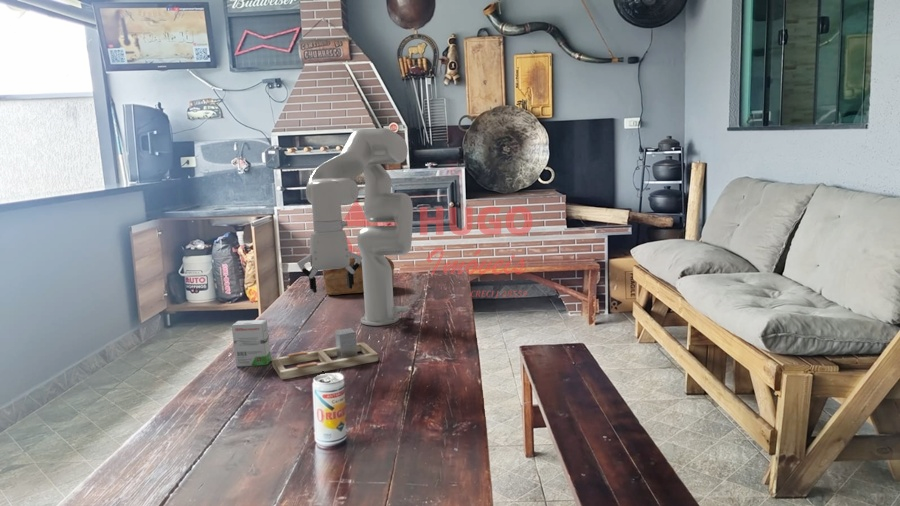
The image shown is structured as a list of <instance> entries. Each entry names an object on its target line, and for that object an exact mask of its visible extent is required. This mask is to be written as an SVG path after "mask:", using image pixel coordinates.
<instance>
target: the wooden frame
mask: <svg viewBox="0 0 900 506" xmlns="http://www.w3.org/2000/svg"><path fill="white" fill-rule="evenodd" d="M356 344H357V353H358V352H361V353H362V354H360V355H359V354H358V355H357V356H354V357H348V358H343V359H334V360H332V359H331V357H337V353H336V346H334V347H329V348H324V349H318V350H312V351H307V350H303V351H299V352H298V351H297V352H292V353H288V354H287V355H285V356H279V357H275V358H271V364H272V365H271V366H272V367H273V369H274V370H275V372H276V373H277V375H278V377H279V378H280V380H286V379H287V380H288V379H292V378H293V379H294V378H298V377H302V376H303V377H304V376H308V375H312V374H313V375H314V374H318V373H323V372H322V371H324V372H329V371H334V370H339V369H344V368H349V367H354V366H359V365H363V364H368V363H375V362H378V361H379V354H378V353H377V351H375V350H374V349H373V348H371V347H370V346H369V345H368V344H366V343H365V342H364V341H362V342H356ZM315 360H318V361H320V362H316V361H315ZM309 361H313V362H309ZM305 362H308V363H305ZM300 363H302V364H300ZM293 364H297V365H296V367H291V368H285V366H289V365H293Z"/></svg>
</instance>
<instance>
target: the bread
mask: <svg viewBox="0 0 900 506" xmlns="http://www.w3.org/2000/svg"><path fill="white" fill-rule="evenodd" d="M384 257H385V258H386V259H387V260H388V262H389V264H390V266H391V269H392V286H393V288H394V276H395V275H394V273H395V272H394V270H395V265H394V262H393V260H391V259H390V258H389V257H387V256H386V255H385V256H384ZM355 260H356V259H355V258H352V257H350V265H349V266H350V267H351V266H352V265H353V264H354V263H355ZM347 272H348V270H347V269H346V268H339V269H330V270H322V276H323V281H324V288H325V292H326V293H327V295H333V296H338V295H346V294H361V293H362V294H363V293H364V288H363V273H362V262H361V263H360V264H359V267H358V268H357V270H356V271H355V273H354V274H353V277H354V285H352V289H350V288H349V287H347Z"/></svg>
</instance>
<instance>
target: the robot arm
mask: <svg viewBox="0 0 900 506" xmlns="http://www.w3.org/2000/svg"><path fill="white" fill-rule="evenodd" d="M407 156H408V146H407V142H406V140H405V139H404V138H403V137H402V136H401V135H399V133H397V132H395V131H394V130H391V129H389V128H385V127H382V128H381V127H379V128H360V129H357V130H355V131H353V132H352V133H350V135H349V137H348V139H347V141H346V142H345V144H344V146H343V148H342V149H341V152H340V153H339V154H338V155H336V156H333V157H332V158H330V159H328V160H327V161H325V162H323V163H322V164H320V165H318V166H317V168H315V169H314V170H313V172H312V174H311V175H310V177H309V179H308V181H307V183H306V188H305V196H306V200H307V201H308V203H310V204H311V208H312V221H313V225H312V226H313V232H311V233H310V236H309V237H310V239H309V255H307V256H305V257H303V258H302V259H301V260H299V261H297V266H298V268H299V269H300V270H301V272H302V274H305V275H306V276H307V277H308V280H309V289H310V290H311V291H312V293H317V290H318V289H317V279H316V277H315V276H316V274H317V273H318V271H323V270H330V269H339V268H346V269H347V270H348V272H347V287H349V288H350V289H352V285H354V277H353V274H354V273H355V271H356V270H357V268H358V267H359V264H360V263H361V262H362V273H363V288H364V292H363V300H364V302H363V303H364V315H363V316H361V318H360V322H361V324H363V325H366V326H372V327H373V326H375V327H379V326H380V327H381V326H387V325H392V324H394V323H397V322H398V321H399V320H400V313H408V312H409V307H408V306H407V305H405V306H401V305H399V306H398V305H394V304H395V303H394V290H393V288H394V287H393V286H392V269H391V266H390V264H389V262H388V260H387V259H386V258H385V257H386V256H405V255H407V254H409V253H410V251H411V250H412V249H411V248H412V243H413V242H412V239H413V220H414V219H413V217H414V216H413V215H414V209H413V208H414V207H413V201H412V199H411V197H410V195H408V194H407V193H405V192H392V179H391V176H390V174H389V173H388V171H387V170H386V169H385V168H384V166H383V165H387V164H389V165H390V164H391V165H394V164H401V163H403V162H405V160H406V159H407ZM362 174H363V176H364V200H363V202H364V203H363V213H364V218H365V219H366V220H367V221H369V222H372V223H396V225H369V226H364V227H363V228H361V229H360V230H359V231H358V233H357V238H356V240H357V241H356V242H357V247H358V250H359V254H357V253H355V252H352V251H350V249H349V243H348V238H347V235H346V232H345V229H344V228H345V227H348V221H344V220H343V218H342V206H349V205H352V204H354V203H355V202H356V201H357V199H358V197H359V194H360V193H359V191H360V190H359V186H358V184H357V182H356V181H355V180H353V179H354V178H357V177H359V176H361V175H362ZM343 229H344V230H343ZM384 256H385V257H384ZM350 257H352V258H355V259H356V260H355V263H354V264H353V265H352V266H351V267H350V266H349V265H350ZM308 263H310V267H311V268H310V269H307V268H306V266H305V265H306V264H308Z"/></svg>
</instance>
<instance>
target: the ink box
mask: <svg viewBox="0 0 900 506" xmlns="http://www.w3.org/2000/svg"><path fill="white" fill-rule="evenodd" d="M231 332H232V339H233V340H232V341H233V348H234V351H233V352H234V358H235V366H236V367H237V368H238V367H256V366H257V367H259V366H268V365H269V363H270V362H272V354H271V344H270V337H269V336H270V335H269V327H268V319H260V320H259V319H253V320H237V321H235V323H233V324H232V325H231Z"/></svg>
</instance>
